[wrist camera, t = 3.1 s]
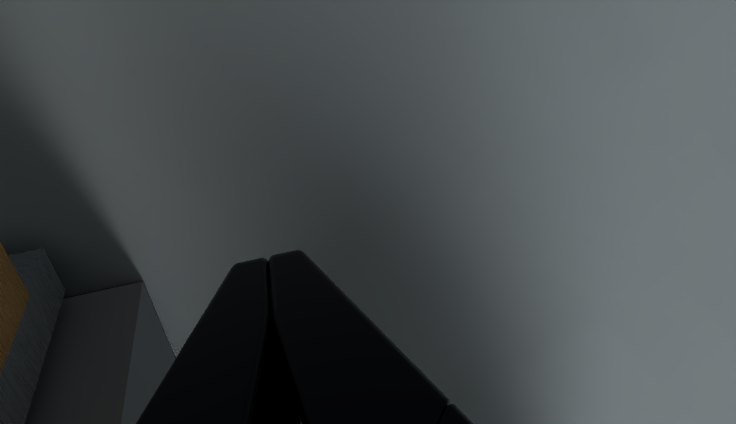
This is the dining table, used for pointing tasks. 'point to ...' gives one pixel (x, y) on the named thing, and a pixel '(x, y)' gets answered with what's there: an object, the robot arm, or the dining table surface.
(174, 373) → the robot arm
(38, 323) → the orange and silver box
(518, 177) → the dining table surface
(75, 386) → the camera housing
